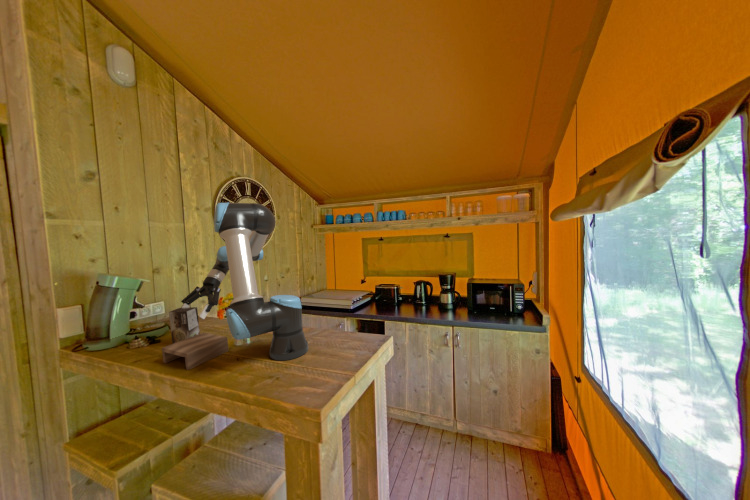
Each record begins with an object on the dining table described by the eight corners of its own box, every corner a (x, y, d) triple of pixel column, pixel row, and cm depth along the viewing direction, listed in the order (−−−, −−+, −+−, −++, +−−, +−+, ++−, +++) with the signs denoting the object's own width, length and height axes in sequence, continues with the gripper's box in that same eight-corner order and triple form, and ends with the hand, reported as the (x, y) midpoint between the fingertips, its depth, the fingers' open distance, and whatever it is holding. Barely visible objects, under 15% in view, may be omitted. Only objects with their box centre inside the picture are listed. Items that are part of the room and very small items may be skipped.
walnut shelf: (228, 350, 110) (227, 337, 110) (188, 369, 96) (187, 354, 95) (204, 345, 117) (203, 332, 117) (163, 362, 102) (161, 347, 102)
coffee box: (201, 340, 123) (198, 306, 122) (190, 346, 117) (186, 311, 116) (183, 340, 124) (180, 307, 123) (171, 346, 118) (168, 311, 117)
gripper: (238, 284, 136) (216, 322, 123) (199, 283, 143) (175, 319, 129) (229, 275, 131) (205, 314, 117) (189, 275, 137) (163, 312, 124)
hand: (189, 317), depth 123 cm, fingers open, 13 cm apart
